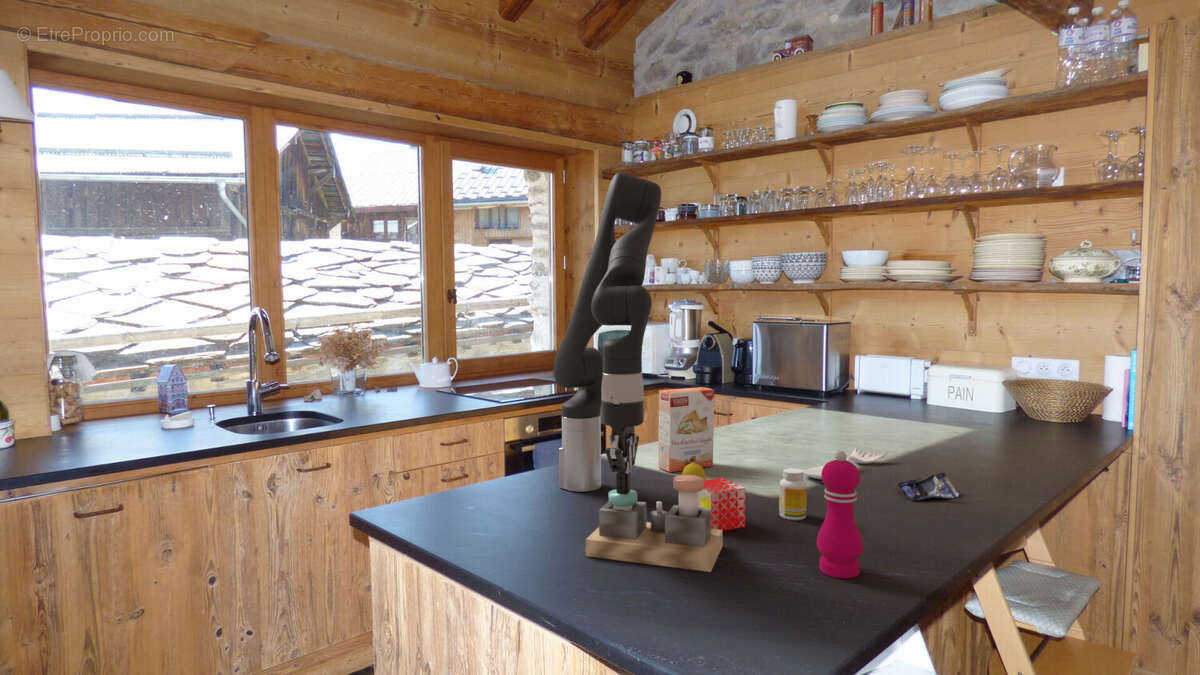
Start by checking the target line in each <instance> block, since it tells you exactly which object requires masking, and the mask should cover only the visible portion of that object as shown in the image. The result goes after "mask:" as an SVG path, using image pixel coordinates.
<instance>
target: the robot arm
mask: <svg viewBox="0 0 1200 675" xmlns="http://www.w3.org/2000/svg"><path fill="white" fill-rule="evenodd" d="M661 200H662V189H661V186H660V185H659V184H658V183H656V182H654V181H651V180H648V179H645V178H643V177H642V178H641V177H639V176H638V177H637V176H634V175H631V174H628V173H624V172H616V173H615V175H613V177H612V178H611V181H610V183H609V185H608V189H607V192H606V196H605V200H604V204H603V207H602V212H601V216H600V220H599V225H598V229H597V232H596V237H595V241H594V244H593V247H592V251H591V254H590V257H589V259H588V263H587V265H586V268H585V272H584V275H583V277H582V281H581V284H580V287H579V291H578V295H577V299H576V303H575V306H574V308H573V312H572V314H571V317H570V320H569V323H568V326H567V328H566V330H565V334H564V335H563V338H562V341H561V343H560V345H559V348H558V350H557V353H556V355H555V358H554V363H553V376H554V380H555V381H554V382H556V384H557V385H558V386H559V387H561V388H564V389H575V388H577V391H576V393H575V394H574V395H573V396H572V397H571V398H570V399H567V400H566V401H565V402H563V403H562V404H561V405H562V406H561V447H559V449H558V471H559V472H558V473H559V479H558V480H559V482H558V484H559V489H564V490H566V491H569V492H570V491H571V492H580V493H581V492H583V493H585V492H593V491H596V490H598V489H600V488H601V487H602V454H601V453H602V444H601V443H602V440H601V438H602V436H601V434H602V432H601V427H602V426H601V424H603V425H604V426H607V427H610V428H611V429H610V430H611V432H610V435H609V438H608V439H609V440H608V441H609V446H610V447H606V449H605V455H606V458H607V462H608V465H609V468H610V471H611V473H615V474H616V478H615V479H616V483H615V484H616V485H615V486H616V489H617V493H618V494H628V493H629V492H630V490H632V489H631V472H632V470H633V467H634V466H635V464H636V459H637V452H638V445H639V441H640V437H639V435H637V433H635V432H636V431H635V430H636V429H635V427H637V426H641V425H643V423H644V420H645V419H644V416H645V413H644V411H645V409H644V407H645V406H644V405H645V404H644V400H645V399H644V395H645V394H644V393H645V392H644V379H643V373H642V372H643V358H642V357H643V343H644V337H645V332H646V329H647V328H646V327H647V326H648V323H649V322H648V321H649V318H650V315H651V311H652V303H653V302H652V296H651V294H650V292H649V290H648V289H647V288H646V287H644V286H643V284H644V281H645V276H646V275H645V274H646V266H647V256H648V253H649V252H648V251H649V247H650V245H651V241H652V238H653V233H654V229H655V226H656V223H657V218H658V215H659V211H660V206H661ZM616 219H619V220H621V221H625V222H629V223H633V224H637V225H636V226H634V227H633V228H632V229H630V230H629V231H627V232H625V234H623V235H622V236H620V237H619V238H618V239H617V240H616V232H615V224H616V223H615V222H616ZM602 326H611V327H613V326H627V327H628V326H630V331H629V332H628V333H627V335H625V336H622V337H617V338H612V339H609V340H606V341H605V342H604V343H603V344H602V354H601V352H600V351H599V350H598V349H596V348H595V347H587V346H588V344H589V342H590V341H591V339H592V338H593V336H594V334H596V332H597V331H598V330H599V329H600V328H601V327H602Z"/></svg>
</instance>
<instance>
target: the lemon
mask: <svg viewBox="0 0 1200 675" xmlns="http://www.w3.org/2000/svg"><path fill="white" fill-rule="evenodd" d="M681 472H682V473H681V475H695V476H699V477H702V478H703V481H704V480H707V477H706V476H707V475H706V472H705V470H704V468H702V467H701V466H700V465H698V464H696V463H695V462H692V463H691V464H689V465H687V466H686V467H685V468H684V469H683V471H681Z"/></svg>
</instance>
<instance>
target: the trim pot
mask: <svg viewBox="0 0 1200 675" xmlns="http://www.w3.org/2000/svg"><path fill="white" fill-rule="evenodd" d="M668 512H669V511H666V510H663V502H662V501H660V500H659V501H656V510H651V511H650V522H651V530H652V531H654V532H665V516H666V515H667V513H668Z"/></svg>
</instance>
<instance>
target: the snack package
mask: <svg viewBox="0 0 1200 675" xmlns="http://www.w3.org/2000/svg"><path fill="white" fill-rule="evenodd" d="M897 487H898V489H901V491H902V492H903V494H904V496H905V499H908V500H910V501H912V502H916V501H922V500H927V499H931V498H937V499H951V498H952V499H953V498H955V497H956V498H957V497H959V496H960V495H959V492H958V491H956V489H955V487H954V485H953V483H951V481H950V479H949V478H948V476H947V474H946V473H944V472H939V473H937V474H931V475H929V474H927V475H926V477H924V478H919V479H917V478H916V479H909V480H907V481H902V482H899V483H897Z"/></svg>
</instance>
